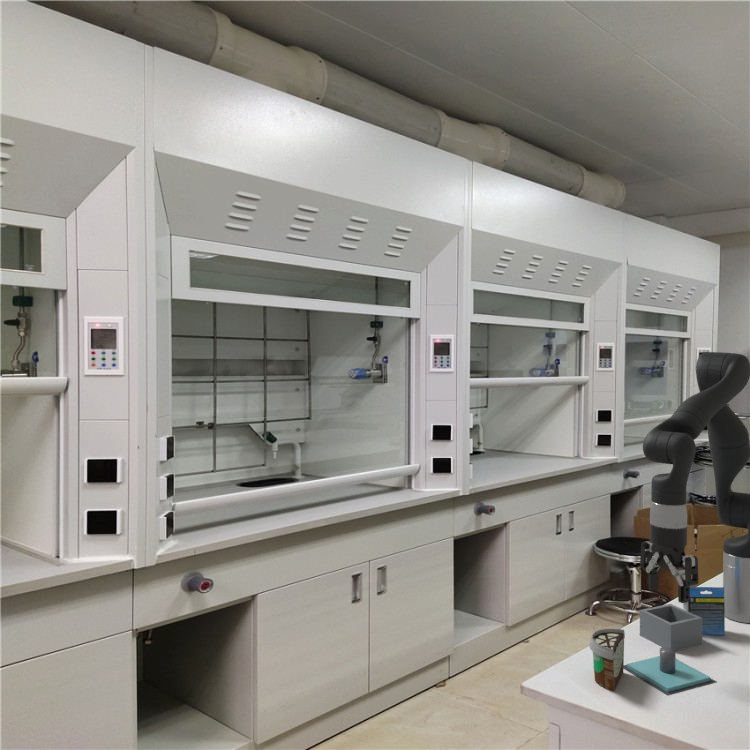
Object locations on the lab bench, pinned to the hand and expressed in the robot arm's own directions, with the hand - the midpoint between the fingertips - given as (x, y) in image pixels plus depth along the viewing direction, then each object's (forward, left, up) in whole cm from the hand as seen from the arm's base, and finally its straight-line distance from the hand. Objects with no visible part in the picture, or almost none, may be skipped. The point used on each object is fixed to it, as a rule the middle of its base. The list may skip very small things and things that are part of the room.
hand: (667, 595), depth 151 cm
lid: (0, 0, -18) cm, 18 cm away
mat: (0, 0, -18) cm, 18 cm away
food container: (+14, -4, -18) cm, 23 cm away
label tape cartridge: (-26, -14, -19) cm, 35 cm away
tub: (-14, -13, -18) cm, 26 cm away
